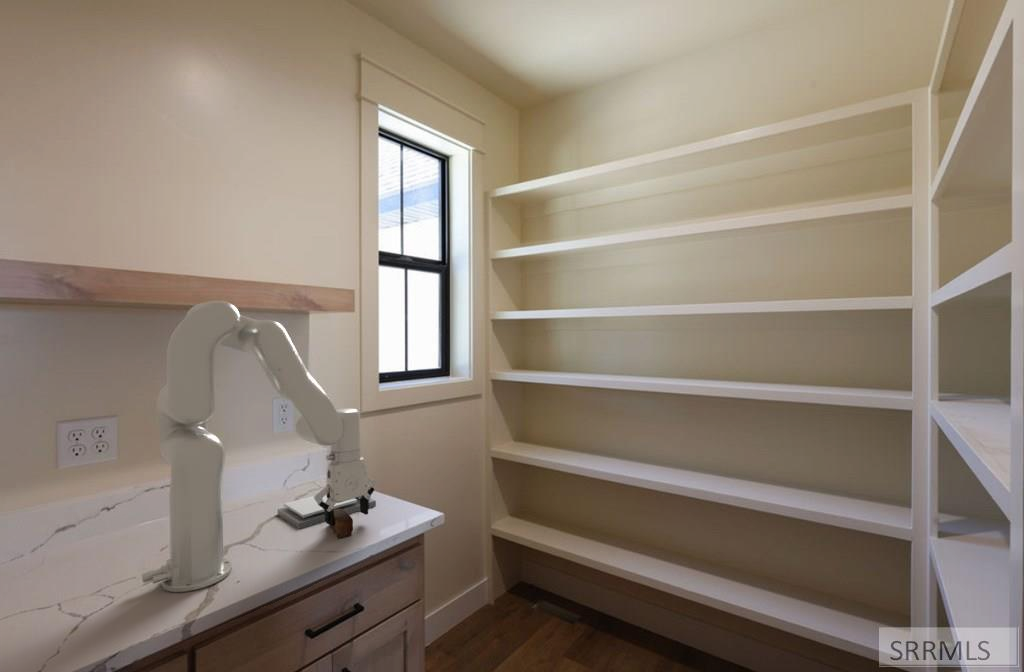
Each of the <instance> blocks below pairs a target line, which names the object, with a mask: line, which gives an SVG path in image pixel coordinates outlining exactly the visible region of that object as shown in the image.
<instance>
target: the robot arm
mask: <svg viewBox="0 0 1024 672" xmlns="http://www.w3.org/2000/svg"><path fill="white" fill-rule="evenodd" d="M292 341H293V340H292V339H291V337H290V335H289V334H288V332H287V331H286V329H285V327H284V326H283V325H282V324H281V323H280V322H278V321H275V320H272V319H254V318H252V317H248V316H244V315H242V314H240V312H239V310H238V308H237V307H236V306H235V305H234V304H232V303H230V302H228V301H224V300H210V301H206V302H205V301H204V302H201V303H198V304H195V305H193V306H191V308H190V309H189V310H188V311H187V312H186V314H185V316H184V317H183V319H182V320H181V321H180V322H179V323H178V325H176V328H175V329H174V331H173V332H172V334H171V336H170V338H169V341H168V344H167V351H166V382H167V383H166V385H164V386H163V387H162V389H160V391H159V393H158V396H157V401H156V419H157V433H158V447H159V451H160V455H161V458H162V459H163V461H165V463H166V464H168V465H169V466H170V482H169V497H168V498H169V499H168V500H169V538H170V539H169V543H170V545H169V546H170V547H169V548H170V549H169V551H170V559H166V563H165V564H164V565H161V567H160V568H158V569H157V568H156V569H152V570H149V571H145V572H142V575H141V580H142V583H143V584H145V583H148V582H151V581H152V584H153V585H154V584H156V583H159V582H160V583H161V587H162V589H163V590H165V591H167V592H170V593H171V592H173V593H179V592H180V593H185V592H190V591H195V590H200V589H203V588H207V587H209V586H212V585H214V584H216V583H218V582H220V581H222V580H223V579H224V578H226V577H227V576H228V575H229V574H230V573H231V572H232V570H233V568H232V566H233V565H232V562H231V560H228V559H226V558H224V506H223V505H224V502H223V501H224V500H223V482H224V481H223V480H224V471H225V462H226V452H225V451H226V450H225V447H224V445H223V442H222V441H221V439H220V438H219V437H218V436H216V435H215V434H214V433H212V432H210V431H209V426H208V420H210V419H211V418H212V417H214V414H215V412H216V410H217V407H218V396H217V395H218V394H217V387H216V386H217V385H216V373H215V360H216V359H215V358H216V352H217V349H218V347H219V346H223V347H226V348H229V349H232V350H235V351H236V350H237V351H240V352H243V353H246V354H251V355H252V354H253V355H254V356H255V357H256V360H257V361H258V363H259V364H260V367H261V369H262V370H263V372H264V373H265V376H266V378H267V379H268V381H269V382H270V384H271V386H272V388H273V389H274V390H275V391H276V392H277V394H279V395H280V396H281V397H282V398H284V399H285V400H286V401H288V402H289V403H290V404H291V405H293V406H294V407H295V408H296V409H297V411H298V412H299V414H301V416H300V417H299V418H298V419H297V420H296V423H295V431H296V434H297V435H298V436H299V437H300V438H301V440H305V441H307V442H310V443H313V444H316V445H319V446H323V447H329V446H330V451H329V454H328V455H325V459H326V461H329V462H328V465H327V471H326V478H325V479H326V481H325V483H326V484H325V485H326V486H325V487H323V489H322V490H320V491H319V492H318V493H316V494H315V495H313V496H314V499H315V500H316V502H317V503H318V505H319V506H320V507H322V508H323V509H325V521H324V522H325V523H326V524H327V525H328V526H329V525H330V526H334V511H333V510H332V508H333V507H334V505H335V504H336V503H340V502H344V501H347V500H350V499H354V498H357V497H360V496H362V497H361V498H360V513H361V514H363V515H365V516H366V515H367V516H368V515H369V509H370V508H369V499H370V498H371V496H372V494H373V493H374V492H375V488H376V486H377V480H376V479H375V478H371V477H368V471H367V466H366V461H365V458H364V457H362V456H361V455H362V453H361V429H360V428H361V426H360V423H361V422H360V420H361V419H360V412H359V411H358V409H356V408H346V407H345V408H339V409H336V407H335V405H334V403H333V402H332V400H331V399H330V398H329V396H328V395H327V393H326V391H324V389H323V388H322V387H321V386H320V385H319V384H318V382H317V380H315V379H314V377H313V376H312V375H311V374H310V372H309V371H308V370H307V368H306V365H305V364H304V361H303V360H302V358H301V357H300V355H299V353H298V351H297V349H296V346H295V345H294V343H293V342H292ZM368 486H369V487H368ZM325 495H326V496H327V500H326V502H325V503H324V502H323V500H322V498H323V497H324V496H325ZM330 526H329V527H330Z"/></svg>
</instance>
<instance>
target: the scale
mask: <svg viewBox="0 0 1024 672" xmlns="http://www.w3.org/2000/svg"><path fill="white" fill-rule="evenodd" d="M368 487H369V485H368ZM314 496H315V495H312V496H308V497H304V498H300V499H297V500H292V501H288V502H285V503H283V504H284V505H283V507H281V508H280V507H279V508H278V509H277V515H278V516H279V517H280V518H282V519H284V520H286V521H287V522H289V523H290V524H292V525H293V526H294V527H296V528H297V529H299V530H300V529H304V528H306V527H310V526H313V525H317V524H319V523H323V522H326V521H325V509H323V508H322V507H320V506H319V505H318V503H317V502H316V500H315V499H314ZM361 497H362V496H360V497H357V498H354V499H350V500H347V501H344V502H340V503H336V504H335V505H334V507H333V508H332V510H335V509H344V510H345V511H346V512H347V513H348V514H349V515H350V514H353V513H356V512H359V511H360V498H361ZM322 500H323V502H324V503H325V502H326V500H327V496H326V495H325V496H324V497H323V498H322ZM376 505H377V501H376V499H373V498H371V497H370V499H369V509H370V508H373V507H376Z"/></svg>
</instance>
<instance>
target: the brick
mask: <svg viewBox="0 0 1024 672" xmlns="http://www.w3.org/2000/svg"><path fill="white" fill-rule="evenodd" d="M333 511H334V526H330V525H329V524H328V526H329V528H330V529H331V531H332V533H333V534H334V535H335V536H336V538H337V539H340V540H341V539H344V538H348V537H351V536H352V533H353V531H354V520H353V518H352V517H351V515H350V514H348V513H347V512H346V511H345V510H344V509H335V510H333Z"/></svg>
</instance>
